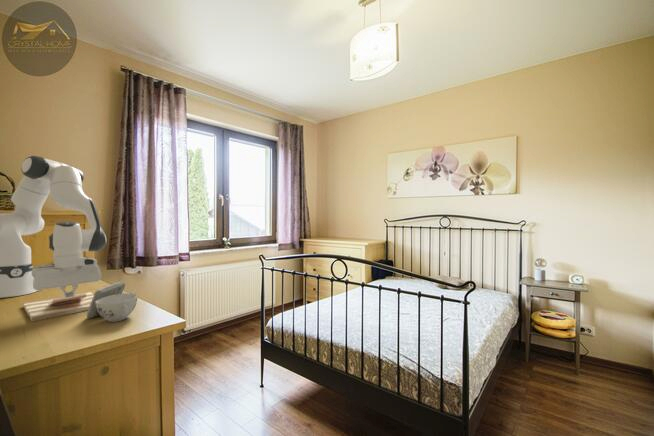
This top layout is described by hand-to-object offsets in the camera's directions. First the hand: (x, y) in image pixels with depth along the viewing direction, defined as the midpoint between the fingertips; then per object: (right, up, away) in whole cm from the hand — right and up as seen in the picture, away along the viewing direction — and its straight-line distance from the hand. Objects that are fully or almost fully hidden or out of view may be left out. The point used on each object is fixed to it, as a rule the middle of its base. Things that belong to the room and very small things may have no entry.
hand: (69, 296), depth 115 cm
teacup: (+27, -6, -10) cm, 30 cm away
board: (-6, -6, +5) cm, 9 cm away
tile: (-2, -1, +2) cm, 3 cm away
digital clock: (+16, -6, -2) cm, 18 cm away
